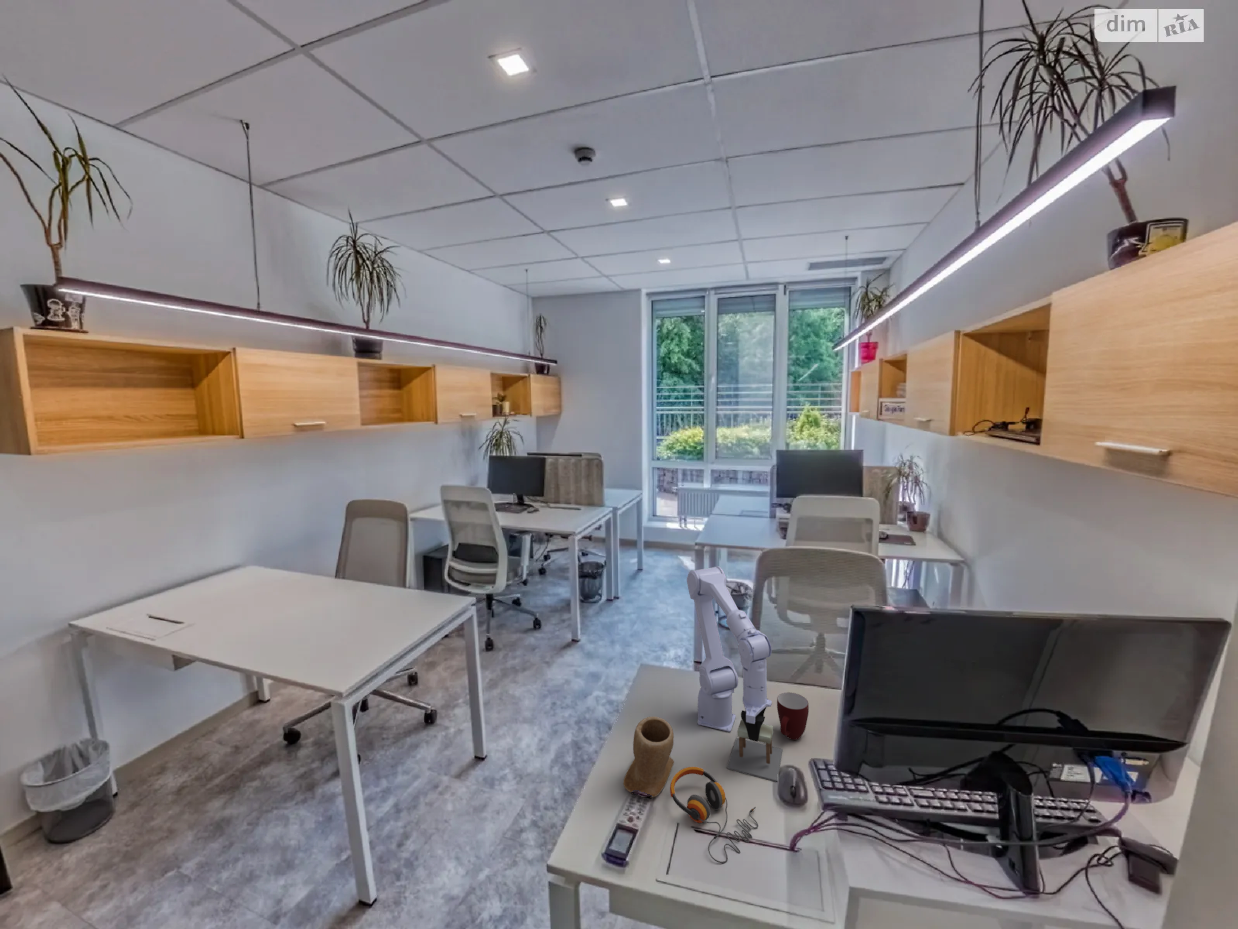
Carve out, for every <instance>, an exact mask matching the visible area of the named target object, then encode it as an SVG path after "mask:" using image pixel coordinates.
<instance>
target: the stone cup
mask: <svg viewBox="0 0 1238 929" xmlns="http://www.w3.org/2000/svg"><path fill="white" fill-rule="evenodd" d="M674 737H675V736H674V730H673V728H672V726H671V724H670V722H668V721H667V720H666V719H664V718H662V717H659V716H647V717H645V718H642V719H641V720H640V721H639V722H638V723H637V725H636V726H635V729H634V733H633V742H632V746H633V747H632V750H633V751H632V752H633V757H634V758H633V760H632V762H631V764H630V765H629V767H628V769H627V771H626V773H625V776H624V778H623V783H622V784H623V787H624V789H625V790H626V791H628V792H629V793H631V792H632V791H633V790H639V791H641V792H645V793H647V794H650V795H652V796H653V797H652V798H655V797H657V796H658V795H659V794H660V793H661V792H662V790H663V789H664V787H665V786H666V783H667V781H668V779H669V776H670V774H671V771H672V769H673V766H674V763H675V760H674V759H673V758H672V757H671V753H672V750H673V747H674V744H675V743H674Z"/></svg>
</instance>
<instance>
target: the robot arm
mask: <svg viewBox="0 0 1238 929" xmlns="http://www.w3.org/2000/svg"><path fill="white" fill-rule="evenodd" d="M686 585H687V590H688V594H689V598H690V599H691V600H693V601H694V607H695V610H696V615H697V620H698V621H697V622H698V626H699V631H700V635H701V640H702V645H703V650H704V655H705V659H704V660H702V662H701V664H700V665H699V666H698V671H699V677H698V678H699V685H700V688H699V692H698V695H697V725H699V726H703V727H706V728H712V729H715V730H721V731H724V732H729V733H730V732H732V730H733V727H734V723H735V720H736V716H737V715H736V714H734V713H733V693H735V689H737V688H738V686H739V676H738V673H737V671H736V669H735V666H734V664H733V661H732V660H730V659H729V658H727V657H726V656H724V652H723V651H724V650H723V647H722V643H721V642H722V641H721V638H720V634H719V628H718V624H717V619H716V618H717V617H716V614H715V610H714V605H713V599H714V601H715V602H716V603H717V604H718V606H719V608H720V609H721V611H722V612H723V613H724V614H725V615H726V620H725V622H726V625H727V626H728V629H729V631H730V632H731V634H732V635H733V636H734V639H735V641H736V642H737V643H738V644H737V651H738V654H739V657H740V663H741V666H742V685H743V686H742V690H743V691H742V692H743V693H742V704H743V708H744V710H741V712H740V718H741V719H742V720H743V722H744V724H745V726H746V729H747V733H748V737H749V739H748V741H752V742H756V743H759V741H758V739H759V734H760V728H761V725H762V724H764V722H765V718H766V716H765V712H766V709H767V707H772V704H773V701H772V700H771V699H769V698H767V697H768V694H767V692H768V690H767V689H768V688H767V687H768V686H767V683H768V682H767V681H768V680H767V679H768V676H767V675H768V674H767V673H768V672H767V668H768V667H767V666H768V665H767V664H768V663H767V658H770V657H771V655H772V652H773V651H772V644H771V642H770V640H769V638H768V636H767V635H766V634H765V633H763V632H761V631H760V630H759V629H757V628H756V626H754V624H753V622H752V621H751V619H750V617H749V616H748V614H747V613H746V611H744V610H741V609H739V608H738V607H737V606H738V605H736V602H735V600H734V599H733V597H732V595H731V593H730V590H729V589H728V587H727V576H726V574H725V572H724V570H723V569H722V567H721V566H719V565H717V566H716V565H715V566H713V567H709V568H702V569H695V570H693V569H691V570H689V572H688V574H687V577H686ZM741 719H740V720H741Z"/></svg>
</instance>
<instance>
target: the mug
mask: <svg viewBox="0 0 1238 929" xmlns="http://www.w3.org/2000/svg"><path fill="white" fill-rule="evenodd" d="M776 708H777V715H778V721H779V725H780V727H779V729H780V730H779V731H780V733H781V734H782V735H783V736H785V737H786V738H788V739H789V740H793V741H794V740H795V741H797V740H799V739H800V738H801V737H802V736H803V734H804V733H805V731H806V729H807V728H806V727H807V723H808V719H809V718H808V717H809V711H810V710H809V708H810V707H809V701H808V699H807V697H805V696H803V695H802V694H799V693H796V692H789V691H788V692H783V693H780V694H779V695H777V697H776Z"/></svg>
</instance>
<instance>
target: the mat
mask: <svg viewBox="0 0 1238 929" xmlns="http://www.w3.org/2000/svg"><path fill="white" fill-rule="evenodd" d="M783 750H784V749H783V748H781V747H777V746H776V747H775V746H773V745H772V754H770V764H768V763H766V743H765V744H764V743H761V742H756V741H752V740H749V739H746V748H743V757H739V737H736V738H735V742H734V743H733V747H732V751H731V753H730V757H729V760H728V763H727V766H726V769H727V770H731V771H734V772H738V773H741V774H745V775H748V776H753V777H757V778H761V779H764V780H768V781H771V782H775V783H777V782H776V781H777V774H778V772H779V773H780V770H779V769H780V768H781V762H782V757H783V752H784V751H783Z"/></svg>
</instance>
